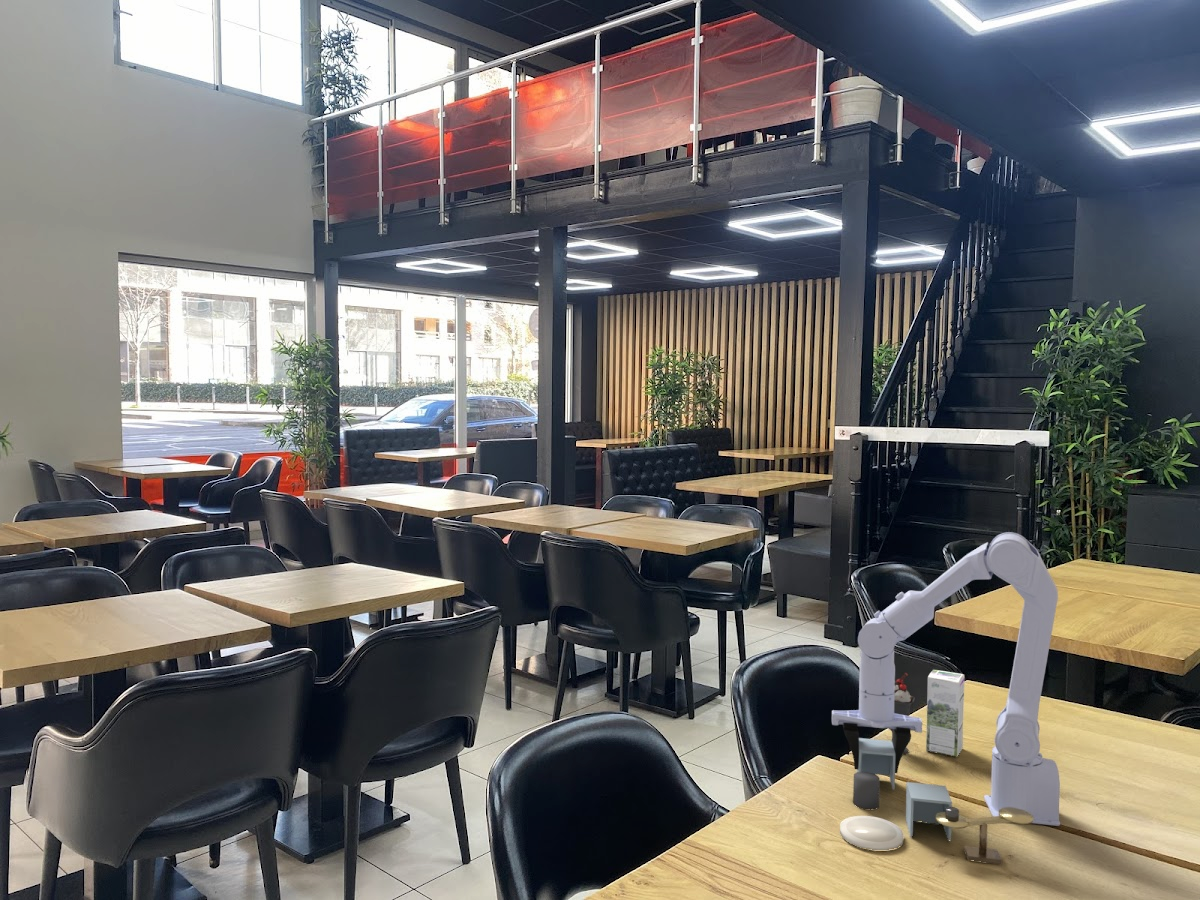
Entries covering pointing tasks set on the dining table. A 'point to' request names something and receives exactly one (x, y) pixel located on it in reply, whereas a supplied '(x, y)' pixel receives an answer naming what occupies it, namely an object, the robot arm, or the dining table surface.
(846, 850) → the dining table surface
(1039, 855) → the dining table surface
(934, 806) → the cover
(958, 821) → the balance
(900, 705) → the sundae
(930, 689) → the syrup box
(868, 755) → the cover
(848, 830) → the dish
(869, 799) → the dark grey cylinder
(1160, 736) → the dining table surface
